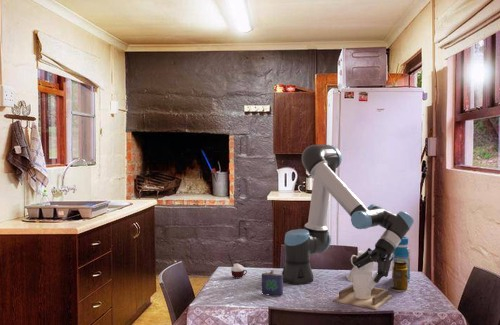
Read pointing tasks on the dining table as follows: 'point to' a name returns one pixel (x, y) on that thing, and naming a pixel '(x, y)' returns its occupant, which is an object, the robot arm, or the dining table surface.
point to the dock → (374, 302)
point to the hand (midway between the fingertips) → (358, 283)
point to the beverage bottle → (402, 254)
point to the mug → (368, 266)
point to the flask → (272, 283)
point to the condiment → (400, 276)
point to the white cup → (361, 284)
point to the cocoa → (237, 269)
